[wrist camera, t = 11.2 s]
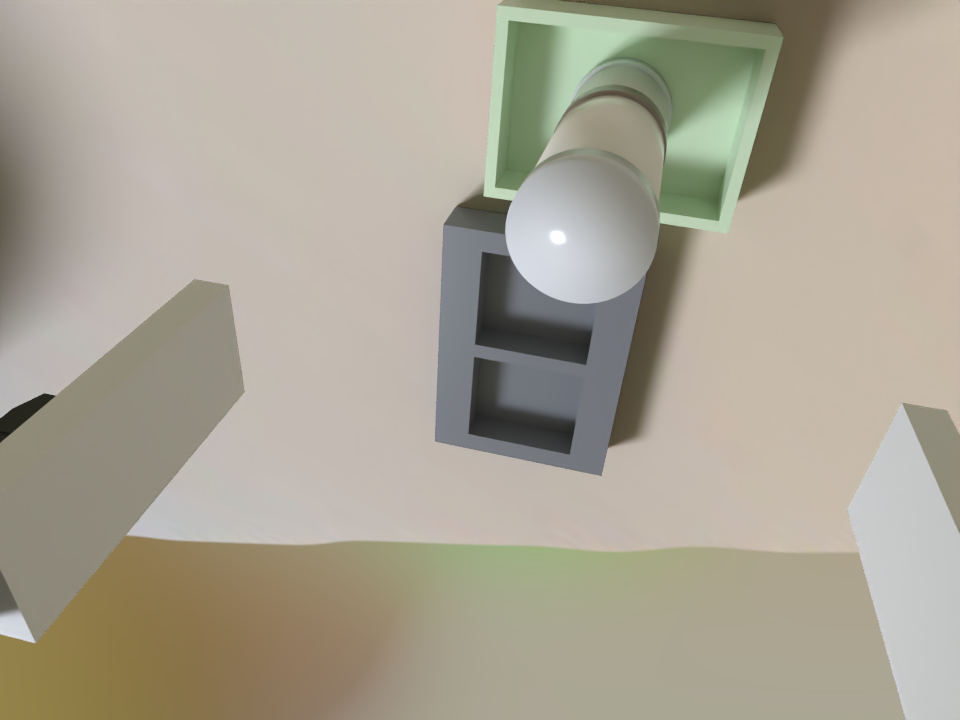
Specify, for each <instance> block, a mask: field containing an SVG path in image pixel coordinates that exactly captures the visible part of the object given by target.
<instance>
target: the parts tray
mask: <svg viewBox="0 0 960 720" xmlns="http://www.w3.org/2000/svg"><path fill="white" fill-rule="evenodd" d="M783 38H784V36H783V35H782V33H781V32H780V30H779V29H778V27H777V25H776V24H773V23H763V22H754V21H745V20H736V19H727V18H717V17H708V16H699V15H690V14H681V13H671V12H662V11H653V10H644V9H634V8H625V7H616V6H607V5H598V4H588V3H579V2H570V1H561V0H504V1H503V2H501V3H500V4H498V5H497V16H496V30H495V44H494V58H493V72H492V86H491V99H490V113H489V127H488V141H487V155H486V169H485V182H484V196H485V197H491V198H498V199H504V200H511V201H513V199H514V197H515V195H516V193H517V192H518V190H519V188H520V186H521V185H522V183H523V181H524V180H525V178H526V177H527V175H528V174H529V173H530V172H531V171H532V170H533V169H534V168H535V166H536V165H537V163H538V161H539V159H540V157H541V156H542V154H543V152H544V150H545V149H546V147H547V145H548V143H549V141H550V140H551V138H552V136H553V134H554V131H555V129H556V127H557V124H558V123H559V121H560V119H561V117H562V116H563V114H564V112H565V111H566V109H567V108H568V106H569V105H570V102H571V99H572V96H573V94H574V92H575V90H576V88H577V87H578V85H579V83H580V82H581V80H582V79H583V78H584V76H585V75H586V74H587V73H588V72H589V71H590V70H591V69H593V68H594V67H596V66H597V65H599V64H601V63H602V62H605V61H607V60H610V59H615V58H623V57H624V58H634V59H638V60H641V61H644V62H646V63H648V64H649V65H651V66H652V67H654V68H655V69H656V70H657V71H658V72H659V73H660V74H661V75H662V77H663V78H664V79H665V81H666V83H667V85H668V87H669V90H670V93H671V98H672V115H671V123H670V127H669V130H668V133H667V149H666V157H665V163H664V166H663V171H662V179H661V188H660V196H659V212H660V223H662V224H668V225H675V226H681V227H688V228H694V229H701V230H708V231H714V232H721V233H727V234H728V231H729V228H730V224H731V221H732V217H733V214H734V210H735V207H736V203H737V200H738V196H739V193H740V189H741V186H742V182H743V179H744V175H745V172H746V168H747V165H748V161H749V158H750V154H751V151H752V147H753V144H754V140H755V137H756V133H757V130H758V126H759V123H760V119H761V116H762V112H763V109H764V105H765V102H766V98H767V95H768V91H769V88H770V84H771V81H772V77H773V74H774V70H775V67H776V63H777V59H778V56H779V52H780V49H781V45H782V42H783Z"/></svg>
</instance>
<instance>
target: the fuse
mask: <svg viewBox="0 0 960 720" xmlns="http://www.w3.org/2000/svg"><path fill="white" fill-rule="evenodd" d="M671 115H672V98H671V93H670V90H669V87H668V85H667V83H666V81H665V79H664V78H663V77H662V75H661V74H660V73H659V72H658V71H657V70H656V69H655V68H654V67H652V66H651V65H649V64H648V63H646V62H644V61H641V60H638V59H634V58H624V57H623V58H615V59H610V60H607V61H605V62H602V63H601V64H599V65H597V66H596V67H594V68H593V69H591V70H590V71H589V72H588V73H587V74H586V75H585V76H584V78H583V79H582V80H581V82H580V83H579V85H578V87H577V88H576V90H575V92H574V94H573V96H572V99H571V102H570V105H569V106H568V108H567V109H566V111H565V112H564V114H563V116H562V117H561V119H560V121H559V123H558V124H557V127H556V129H555V131H554V134H553V136H552V138H551V140H550V141H549V143H548V145H547V147H546V149H545V150H544V152H543V154H542V156H541V157H540V159H539V161H538V163H537V165H536V166H535V168H534V169H533V170H532V171H531V172H530V173H529V174H528V175H527V177H526V178H525V180H524V181H523V183H522V185H521V186H520V188H519V190H518V192H517V193H516V195H515V197H514V199H513V201H512V203H511V205H510V207H509V211H508V214H507V219H506V226H505V235H506V243H507V247H508V251H509V254H510V256H511V259H512V261H513V263H514V264H515V266H516V268H517V269H518V271H519V272H520V273H521V275H522V276H523V277H524V278H525V279H526V280H527V281H528V282H529V283H530V284H531V285H532V286H534V287H535V288H536V289H538V290H539V291H541V292H542V293H544V294H546V295H548V296H550V297H552V298H555V299H558V300H561V301H565V302H569V303H577V304H590V303H598V302H603V301H607V300H610V299H612V298H615V297H617V296H619V295H621V294H623V293H625V292H626V291H628V290H629V289H631V288H632V287H633V286H634V285H635V284H637V283H638V282H639V281H640V280H641V278H642V277H643V276H644V275H645V273H646V272H647V270H648V269H649V267H650V265H651V263H652V261H653V259H654V256H655V253H656V249H657V243H658V235H659V226H660V212H659V196H660V188H661V179H662V171H663V166H664V163H665V157H666V149H667V133H668V130H669V127H670V123H671Z"/></svg>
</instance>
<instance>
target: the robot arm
mask: <svg viewBox="0 0 960 720" xmlns="http://www.w3.org/2000/svg"><path fill="white" fill-rule="evenodd" d="M244 392H245V391H244V384H243V377H242V371H241V364H240V357H239V351H238V344H237V338H236V331H235V324H234V318H233V311H232V304H231V298H230V291H229V285H224V284H218V283H213V282H207V281H201V280H196V279H194V280H193V281H192V282H191V283H190V284H188V285H187V286H186V287H185V288H184V289H182V290H181V291H180V292H179V293H178V294H176V295H175V296H174V297H173V298H172V299H171V300H169V301H168V302H167V303H166V304H165V305H163V306H162V307H161V308H160V309H159V310H157V311H156V312H155V313H154V314H153V315H152V316H150V317H149V318H148V319H147V320H146V321H144V322H143V323H142V324H141V325H140V326H138V327H137V328H136V329H135V330H134V331H133V332H131V333H130V334H129V335H128V336H127V337H125V338H124V339H123V340H122V341H121V342H119V343H118V344H117V345H116V346H115V347H114V348H112V349H111V350H110V351H109V352H108V353H106V354H105V355H104V356H103V357H102V358H100V359H99V360H98V361H97V362H96V363H95V364H93V365H92V366H91V367H90V368H89V369H87V370H86V371H85V372H84V373H83V374H81V375H80V376H79V377H78V378H77V379H76V380H74V381H73V382H72V383H71V384H70V385H68V386H67V387H66V388H65V389H64V390H62V391H61V392H60V393H59V394H58V395H57V396H54V395H49V394H45V393H44V394H42V395H40V396H38V397H36V398H34V399H32V400H30V401H28V402H26V403H23V404H21V405H19V406H17V407H15V408H13V409H12V410H10V411H9V412H8V413H7V414H5V415H4V416H3V417H2V418H0V634H2V635H6V636H10V637H14V638H18V639H21V640H25V641H29V642H33V643H36V642H37V641H38V640H39V639H40V638H41V636H42V635H43V634H44V633H45V632H46V630H47V629H48V628H49V627H50V625H51V624H52V623H53V622H54V621H55V619H56V618H57V617H58V616H59V615H60V614H61V612H62V611H63V610H64V609H65V608H66V606H67V605H68V604H69V603H70V601H71V600H72V599H73V598H74V597H75V595H76V594H77V593H78V592H79V591H80V589H81V588H82V587H83V586H84V585H85V583H86V582H87V581H88V580H89V579H90V577H91V576H92V575H93V574H94V573H95V571H96V570H97V569H98V568H99V567H100V565H101V564H102V563H103V562H104V561H105V559H106V558H107V557H108V556H109V555H110V553H111V552H112V551H113V550H114V548H115V547H116V546H117V545H118V544H119V542H120V541H121V540H122V539H123V538H124V536H125V535H126V534H127V533H128V532H129V530H130V529H131V528H132V527H133V526H134V524H135V523H136V522H137V521H138V520H139V518H140V517H141V516H142V515H143V514H144V512H145V511H146V510H147V509H148V508H149V506H150V505H151V504H152V503H153V502H154V500H155V499H156V498H157V497H158V495H159V494H160V493H161V492H162V491H163V489H164V488H165V487H166V486H167V485H168V483H169V482H170V481H171V480H172V479H173V477H174V476H175V475H176V474H177V473H178V471H179V470H180V469H181V468H182V467H183V465H184V464H185V463H186V462H187V461H188V459H189V458H190V457H191V456H192V455H193V453H194V452H195V451H196V450H197V448H198V447H199V446H200V445H201V444H202V442H203V441H204V440H205V439H206V438H207V436H208V435H209V434H210V433H211V432H212V430H213V429H214V428H215V427H216V426H217V424H218V423H219V422H220V421H221V420H222V418H223V417H224V416H225V415H226V414H227V412H228V411H229V410H230V409H231V408H232V406H233V405H234V404H235V403H236V402H237V400H238V399H239V398H240V397H241V395H242V394H243V393H244ZM847 511H848V515H849V518H850V522H851V525H852V529H853V532H854V536H855V540H856V543H857V547H858V550H859V554H860V558H861V561H862V564H863V568H864V572H865V575H866V579H867V583H868V586H869V590H870V593H871V597H872V601H873V604H874V608H875V611H876V615H877V618H878V622H879V625H880V629H881V633H882V636H883V640H884V643H885V647H886V650H887V654H888V658H889V661H890V665H891V669H892V672H893V676H894V679H895V682H896V686H897V690H898V694H899V697H900V701H901V704H902V708H903V712H904V715H905V718H906V720H960V435H959V433H958V431H957V429H956V427H955V425H954V423H953V421H952V419H951V417H950V415H949V414H948V412H947V411H946V410H940V409H934V408H929V407H923V406H917V405H911V404H906V403H901V405H900V407H899V409H898V411H897V413H896V415H895V417H894V419H893V421H892V423H891V425H890V427H889V429H888V431H887V433H886V435H885V437H884V439H883V441H882V443H881V445H880V447H879V449H878V451H877V453H876V455H875V456H874V458H873V460H872V462H871V464H870V466H869V468H868V470H867V472H866V474H865V476H864V478H863V480H862V482H861V484H860V486H859V488H858V490H857V492H856V494H855V496H854V498H853V500H852V502H851V504H850V506H849V508H848V510H847Z"/></svg>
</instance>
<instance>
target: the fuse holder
mask: <svg viewBox="0 0 960 720" xmlns="http://www.w3.org/2000/svg"><path fill="white" fill-rule="evenodd" d="M506 219H507V214H501V213H495V212H488V211H482V210H476V209H469V208H463V207H455V209H454V210H453V212H452V213H451V215H450V216H449V217H448V219H447V220H446V222H445V223H444V226H443V251H442V276H441V301H440V326H439V351H438V377H437V402H436V427H435V441H436V442H440V443H445V444H450V445H455V446H460V447H465V448H469V449H474V450H479V451H484V452H489V453H493V454H498V455H503V456H508V457H513V458H518V459H522V460H527V461H532V462H537V463H542V464H546V465H551V466H556V467H561V468H566V469H570V470H575V471H580V472H585V473H590V474H595V475H599V476H602V471H603V467H604V462H605V458H606V453H607V449H608V444H609V440H610V435H611V431H612V426H613V422H614V417H615V413H616V408H617V404H618V399H619V395H620V390H621V386H622V381H623V377H624V373H625V368H626V364H627V359H628V355H629V350H630V346H631V341H632V337H633V332H634V328H635V323H636V319H637V314H638V310H639V305H640V301H641V296H642V292H643V287H644V283H645V278H646V274H647V272H646V273H645V275H644V276H643V277H642V278H641V280H640V281H639V282H638V283H637V284H635V285H634V286H633V287H632V288H631V289H629V290H628V291H626V292H625V293H623V294H621V295H619V296H617V297H615V298H612V299H610V300H607V301H603V302H598V303H590V304H577V303H569V302H565V301H561V300H558V299H555V298H552V297H550V296H548V295H546V294H544V293H542V292H541V291H539V290H538V289H536V288H535V287H534V286H532V285H531V284H530V283H529V282H528V281H527V280H526V279H525V278H524V277H523V276H522V275H521V273H520V272H519V271H518V269H517V268H516V266H515V264H514V263H513V261H512V259H511V256H510V254H509V251H508V247H507V243H506V235H505V226H506Z"/></svg>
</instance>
